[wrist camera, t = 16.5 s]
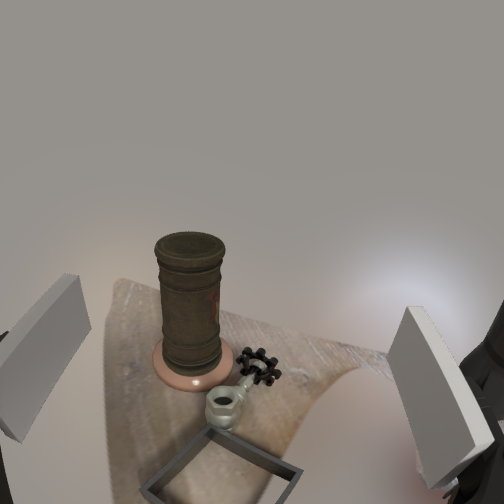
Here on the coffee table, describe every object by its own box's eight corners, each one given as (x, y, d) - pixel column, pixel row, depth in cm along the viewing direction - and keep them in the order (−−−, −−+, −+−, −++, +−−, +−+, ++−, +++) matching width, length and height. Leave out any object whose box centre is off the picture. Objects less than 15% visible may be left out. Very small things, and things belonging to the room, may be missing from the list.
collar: (210, 434, 34) (209, 421, 33) (298, 480, 29) (303, 470, 27) (144, 498, 24) (138, 489, 23) (240, 560, 19) (242, 556, 18)
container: (179, 386, 39) (170, 268, 31) (152, 346, 45) (142, 237, 38) (234, 363, 44) (243, 251, 37) (203, 329, 51) (204, 225, 43)
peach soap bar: (188, 327, 53) (188, 320, 52) (247, 358, 48) (248, 351, 47) (137, 364, 43) (136, 357, 43) (199, 405, 38) (199, 399, 38)
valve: (237, 449, 33) (278, 388, 42) (240, 421, 30) (285, 356, 40) (191, 426, 35) (237, 371, 45) (188, 395, 32) (240, 339, 42)
